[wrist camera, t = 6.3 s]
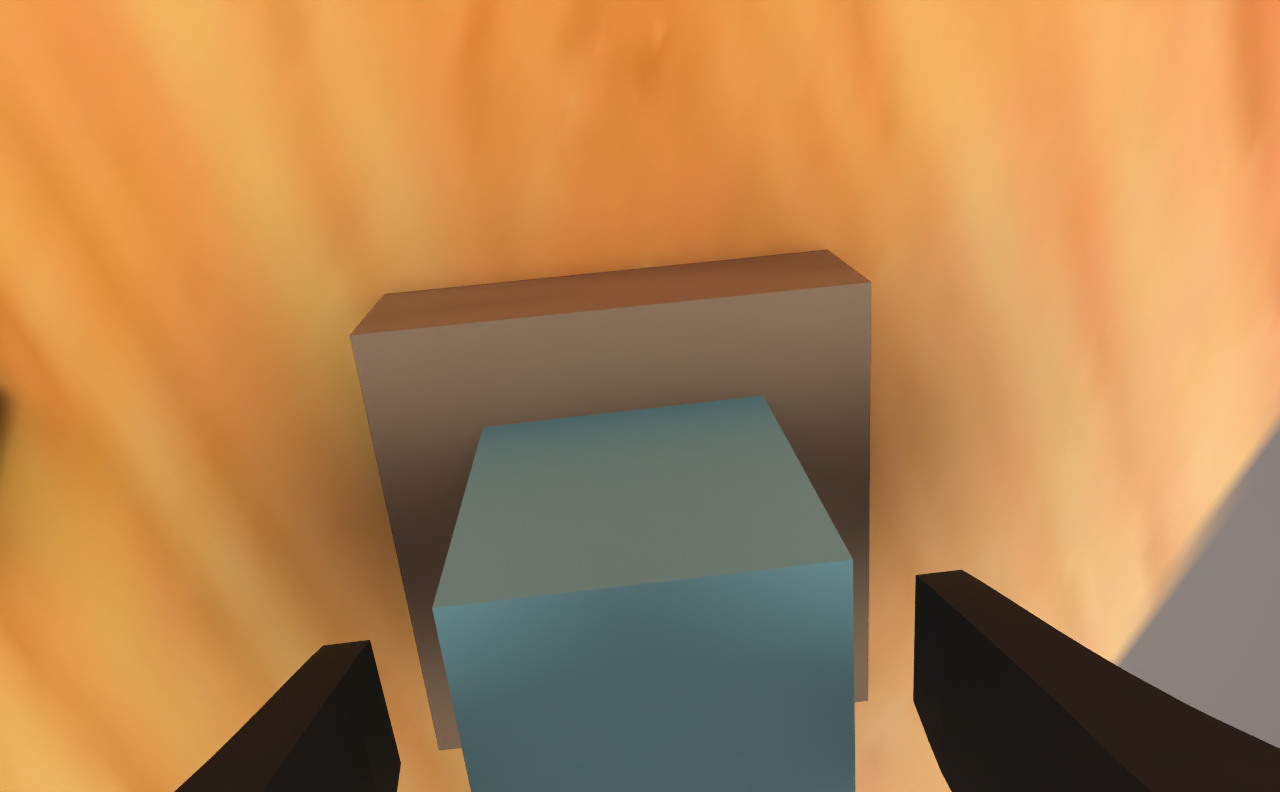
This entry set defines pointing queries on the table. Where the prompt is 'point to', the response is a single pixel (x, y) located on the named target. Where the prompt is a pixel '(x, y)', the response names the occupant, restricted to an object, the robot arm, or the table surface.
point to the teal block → (648, 608)
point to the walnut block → (613, 390)
